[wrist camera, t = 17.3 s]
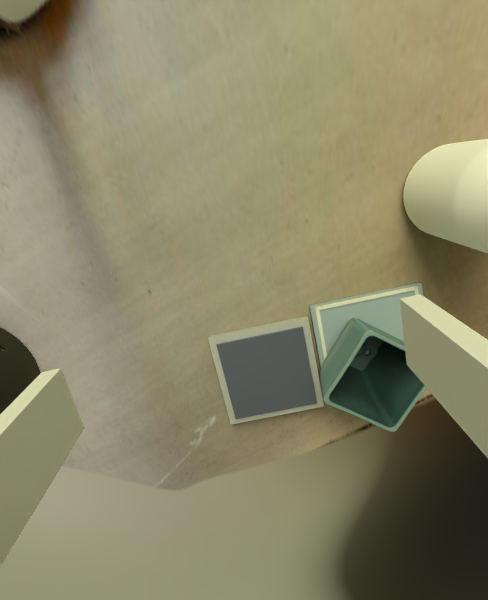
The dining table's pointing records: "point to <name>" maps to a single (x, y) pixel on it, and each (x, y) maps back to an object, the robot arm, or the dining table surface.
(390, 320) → the board
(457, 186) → the wine bottle
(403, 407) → the flower pot
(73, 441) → the robot arm
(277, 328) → the ink pad
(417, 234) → the dining table surface
